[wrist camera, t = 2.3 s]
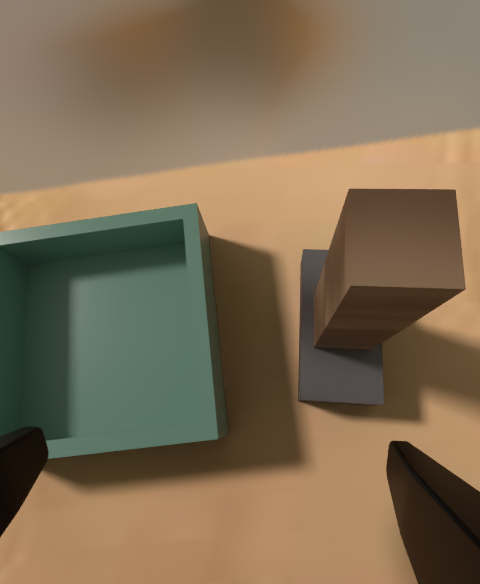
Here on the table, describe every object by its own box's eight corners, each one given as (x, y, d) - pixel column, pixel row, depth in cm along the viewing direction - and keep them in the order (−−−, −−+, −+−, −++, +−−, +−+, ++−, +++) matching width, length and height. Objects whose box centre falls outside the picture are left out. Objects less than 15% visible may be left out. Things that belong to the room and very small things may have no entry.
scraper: (372, 405, 22) (504, 398, 9) (298, 400, 22) (327, 387, 10) (368, 266, 24) (469, 109, 11) (300, 264, 24) (326, 110, 12)
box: (208, 234, 25) (196, 203, 21) (228, 434, 22) (218, 439, 18) (26, 260, 26) (-17, 234, 22) (16, 458, 22) (-37, 468, 18)
